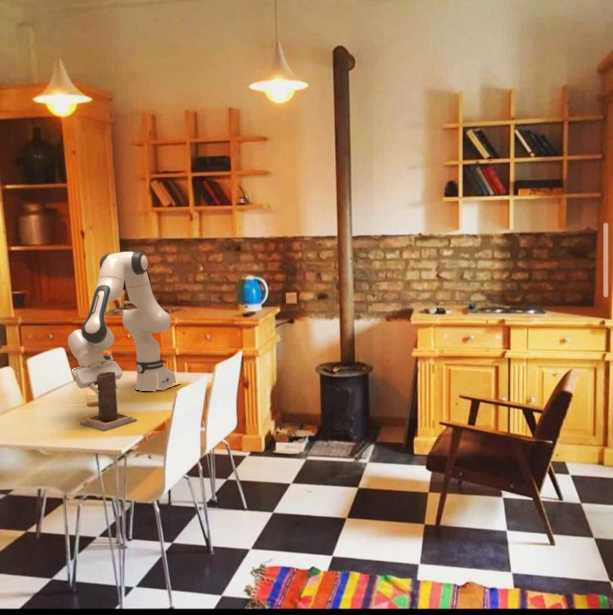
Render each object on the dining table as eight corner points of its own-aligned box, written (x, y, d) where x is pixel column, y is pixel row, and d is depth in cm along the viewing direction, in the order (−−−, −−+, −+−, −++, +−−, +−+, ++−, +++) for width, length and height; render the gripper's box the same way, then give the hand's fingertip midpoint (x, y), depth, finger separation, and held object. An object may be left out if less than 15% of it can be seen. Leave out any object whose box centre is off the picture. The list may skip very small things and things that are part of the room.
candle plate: (113, 414, 294) (112, 409, 294) (136, 421, 284) (136, 415, 284) (80, 424, 282) (80, 418, 281) (104, 431, 272) (103, 425, 271)
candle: (114, 423, 279) (111, 375, 276) (96, 423, 280) (93, 375, 276) (120, 417, 287) (117, 370, 283) (102, 417, 287) (100, 370, 284)
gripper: (72, 364, 275) (88, 391, 271) (115, 355, 291) (130, 380, 287) (66, 373, 279) (82, 401, 274) (109, 364, 295) (124, 389, 290)
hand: (107, 390), depth 281 cm, fingers closed on candle, 7 cm apart
